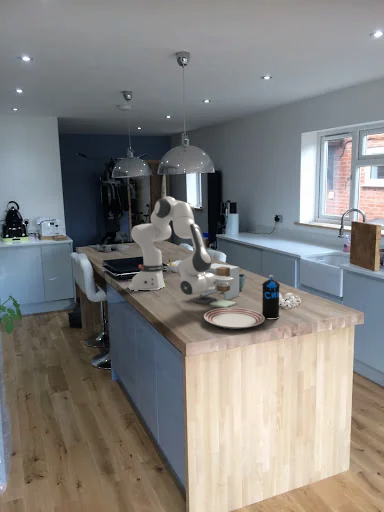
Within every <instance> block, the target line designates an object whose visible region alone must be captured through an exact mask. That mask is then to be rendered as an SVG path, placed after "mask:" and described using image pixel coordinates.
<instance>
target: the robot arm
mask: <svg viewBox="0 0 384 512" xmlns="http://www.w3.org/2000/svg"><path fill="white" fill-rule="evenodd" d="M195 213H196V212H195V206H194V205H193V204H192V203H190V202H185V201H182V200H179V199H175V198H174V197H172V196H168V195H167V196H165V197H163V198H159V199H158V200H156V202H155V205H154V209H153V211H152V213H151V215H150V222H151V223H141V224H138V225H135V226H133V227H132V229H131V232H130V233H131V234H130V235H131V238H132V240H133V241H134V242H135V243H136V244H137V245H139V247H140V249H141V251H142V258H143V264H139V265H138V268H139V269H140V271H139V272H137V274H135V275H133V277H132V279H131V284H129V285H128V286H127V289H128V288H129V289H130V290H129V289H128V290H129V291H131V290H134V291H133V292H139V291H138V290H150V291H160V290H161V289H164V288H165V287H166V283H165V282H164V281H165V280H164V275H163V272H164V266H163V262H162V257H163V256H162V251H161V249H160V248H158V247H156V246H155V245H154V242H161V241H165V240H168V239H170V238H171V236H172V228H173V231H174V234H175V235H176V236H178V237H179V238H181V239H185V240H187V239H191V241H192V242H191V243H192V245H193V249H194V250H193V253H192V254H191V255H190V256H188V257H186V258H185V259H183V260H181V262H179V263H178V265H177V273H178V276H179V277H180V283H179V288H180V290H181V292H182V293H183V294H185V295H186V296H196V295H198V294H202V292H206V291H209V290H212V289H214V288H215V286H222V287H226V286H231V285H233V284H234V278H232V277H230V276H220V275H214V274H212V273H209V272H208V273H202V272H204V271H207V270H209V269H210V267H211V264H213V263H212V257H211V255H210V253H209V251H208V249H207V245H206V241H205V239H204V236H203V235H204V234H203V233H202V232H203V231H202V230H201V228H200V227H199V225H198V224H196V223H195V222H196V221H195V218H194V217H195ZM171 221H172V228H171V225H170V222H171ZM163 287H164V288H163ZM160 288H161V289H160ZM159 289H160V290H159Z"/></svg>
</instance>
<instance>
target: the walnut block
mask: <svg viewBox="0 0 384 512" xmlns="http://www.w3.org/2000/svg"><path fill="white" fill-rule="evenodd" d="M216 275H220V276H230V268H229V267H218V268H216ZM216 287H217V292H220V293H221V292H222V293H224V292H226V291H229V290H230V286H226V287H222V286H216Z"/></svg>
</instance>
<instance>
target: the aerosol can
mask: <svg viewBox="0 0 384 512" xmlns="http://www.w3.org/2000/svg"><path fill="white" fill-rule="evenodd" d="M261 285H262V300H261V301H262V304H261V305H262V308H261V311H262V313H261V314H262V315H263V316H264V317H265V318H277V317H279V318H280V304H279V293H280V286H281V284H280V283H279V282H278V281H276V280H274V275H272V274H270V275H268V280H265V281H264V282H262V283H261Z"/></svg>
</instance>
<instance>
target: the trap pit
mask: <svg viewBox="0 0 384 512" xmlns="http://www.w3.org/2000/svg"><path fill="white" fill-rule="evenodd" d="M215 301H217V298H216V297H212V296H207V295H205V296H203V295H201V296H199V297H194V298H192V302H194V303H197V304H198V303H199V304H202V305H207V304H210V303H212V302H215Z"/></svg>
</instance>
